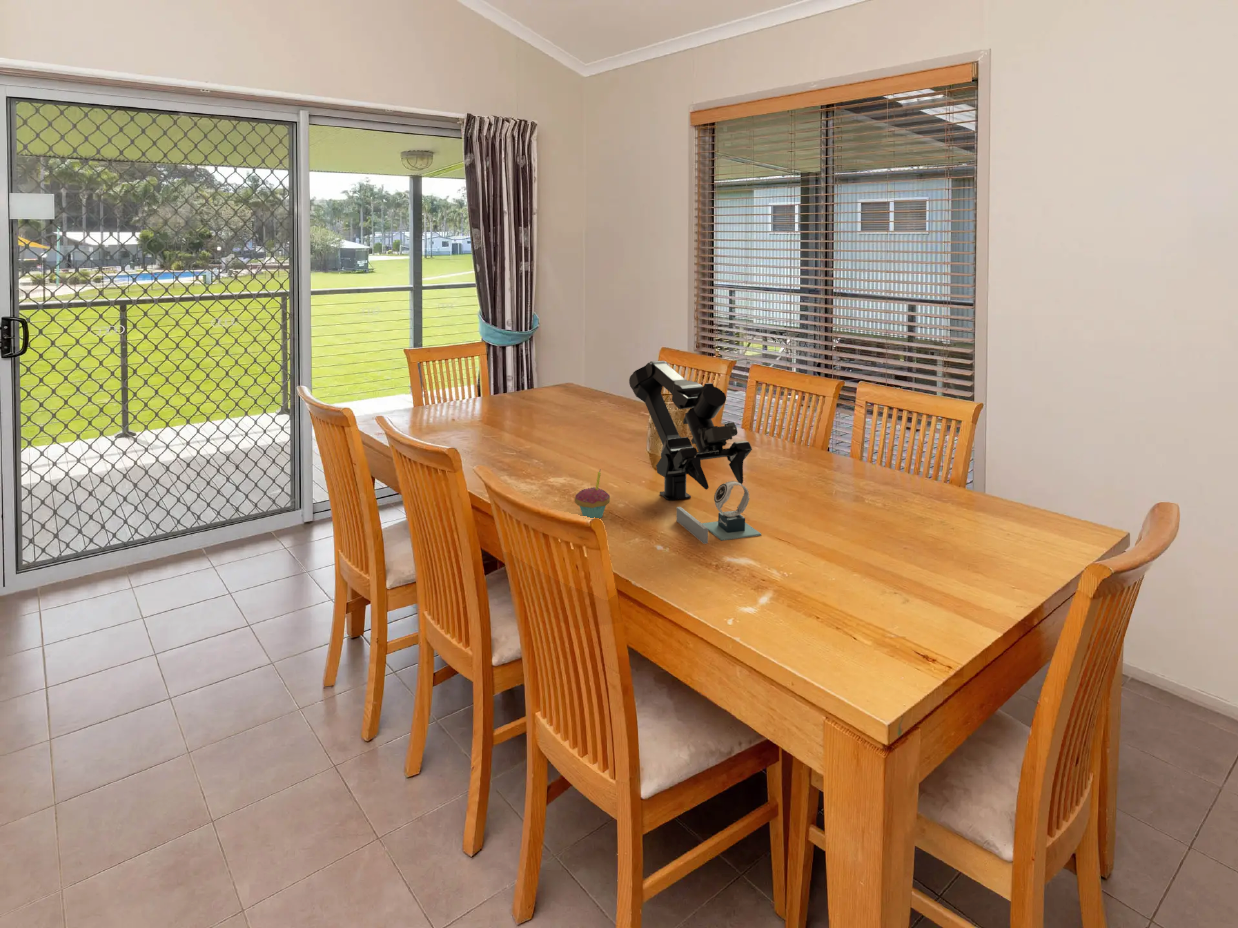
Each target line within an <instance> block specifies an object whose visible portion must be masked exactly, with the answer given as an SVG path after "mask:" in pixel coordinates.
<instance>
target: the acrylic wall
mask: <svg viewBox="0 0 1238 928" xmlns="http://www.w3.org/2000/svg"><path fill="white" fill-rule="evenodd" d="M675 519H676V520H675V521H676V522H677V523H678V524H680V526H681V527H683V528H684V529H685V530H686V531H687V532H689V533H690V534H691V535H692V536H694V537H695V538H696V539H697V540H698V541H700V542H701V543H702V544H704V545H707V544H708V543H709V531H708V528H707V527H706V526H704V525H703V524H702V523H703V522H701V521H700V520H698V519H697V518H695V516H693V515H692V514H690V513H689V512H688V511H686V510H685V509H684V508H683V507H681V506H676V518H675Z"/></svg>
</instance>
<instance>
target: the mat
mask: <svg viewBox="0 0 1238 928" xmlns="http://www.w3.org/2000/svg"><path fill="white" fill-rule="evenodd" d="M701 523H702V524H703V525H704V526H706V527H707V528H708V532H710V533H711V534H712V535H713V536H715V537H716V538H717V539H718V540H720V541H721V542H722V541H729V540H738V539H745V538H751V537H752V538H753V537H758V536H762V533H761V532H760V531H759V530H757V529H755V528H754V527H753V526H752V525H750V524H748V523H747V522H745V531H740V532H731V533H727V532H726V531H725V530H723V529H722V528H721V527H720V526H719V525H718V520H717V521H716V520H715V521H711V522H710V521H709V522H701Z"/></svg>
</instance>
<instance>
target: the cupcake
mask: <svg viewBox="0 0 1238 928" xmlns="http://www.w3.org/2000/svg"><path fill="white" fill-rule="evenodd" d="M600 479H601V469H599V470H598V472H597V476H596V483H595V486H593V487H588V488H583V489H580V490H579V492H577V493H576V494H575V496H574V503H575V504H577V506H578V507H579V509H580V511H581V515H582V516H587V517H590V518H594V517H595V518H599V519H601V518H603V515H604V512H605V509H606V506H608V505H609V504H610V501H611V496H610V494H609V493H608V492H607V491H606V490H603V489H602V488H599V487H600V486H599V485H600Z"/></svg>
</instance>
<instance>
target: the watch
mask: <svg viewBox="0 0 1238 928" xmlns="http://www.w3.org/2000/svg"><path fill="white" fill-rule="evenodd" d="M734 486H740V487H742V488H743V491H744V493H743V496H742V498H741V500H740V502H739V504H738V506H737V507H736V508H737V509H736V510H729V511H723V510H722V508H723V507H724V504H726V503H727V502H728V501H729V500H730V497H731V494H732V490H733V488H734ZM713 501H714V505H715V507H716V509H717V510H718V512H717V513H718V515H717V516H718V518H717V521H718V525H719V526H720V527H721V528H722V529H723V530H725V531H726V532H727V533H731V532H740V531H745V523H746V517H744V515H742V514H743V513H744V512H745V510H746V508H747V507H748V505H749V501H750V492H749V489H748V488H747V487H746V486H745V485H743V483H742V484H740V483H739V482H738V481H737V480H736V481H735V480H731V481H725V483H721V484H720V485H719V486H718V487H717V489H716V490H715V492H714V495H713Z"/></svg>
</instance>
